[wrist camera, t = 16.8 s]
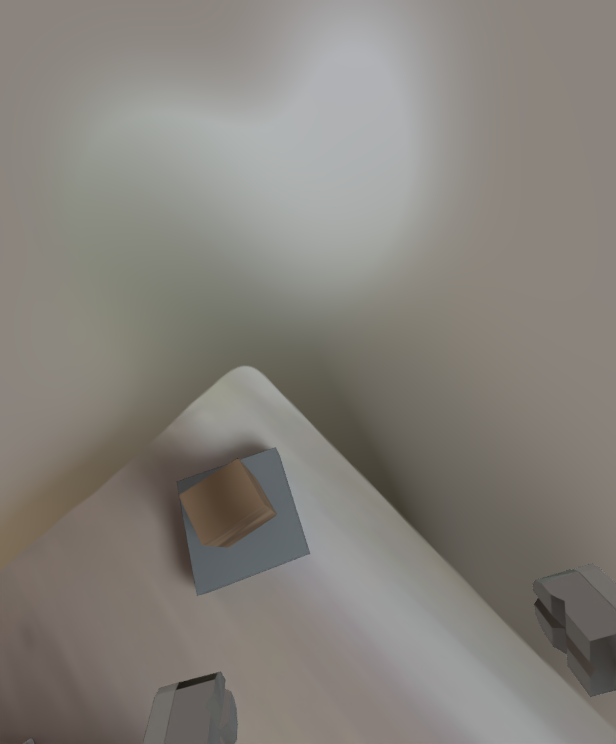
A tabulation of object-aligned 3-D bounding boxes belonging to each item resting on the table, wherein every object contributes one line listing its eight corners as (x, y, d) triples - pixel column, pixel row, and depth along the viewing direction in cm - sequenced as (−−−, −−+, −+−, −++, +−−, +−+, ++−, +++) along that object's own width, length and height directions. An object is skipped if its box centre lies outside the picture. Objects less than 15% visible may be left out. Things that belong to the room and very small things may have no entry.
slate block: (210, 591, 35) (197, 595, 32) (190, 488, 40) (176, 481, 36) (310, 553, 36) (308, 553, 33) (280, 456, 41) (275, 447, 37)
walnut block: (229, 547, 33) (202, 545, 26) (209, 507, 35) (178, 495, 28) (277, 514, 34) (263, 504, 27) (255, 477, 36) (237, 458, 29)
